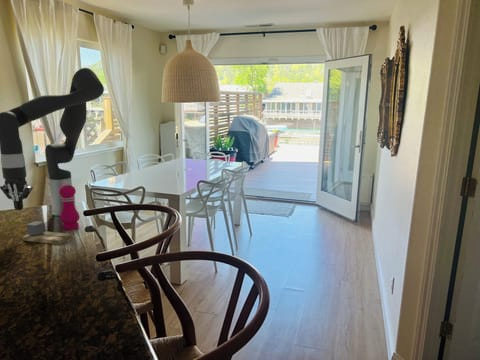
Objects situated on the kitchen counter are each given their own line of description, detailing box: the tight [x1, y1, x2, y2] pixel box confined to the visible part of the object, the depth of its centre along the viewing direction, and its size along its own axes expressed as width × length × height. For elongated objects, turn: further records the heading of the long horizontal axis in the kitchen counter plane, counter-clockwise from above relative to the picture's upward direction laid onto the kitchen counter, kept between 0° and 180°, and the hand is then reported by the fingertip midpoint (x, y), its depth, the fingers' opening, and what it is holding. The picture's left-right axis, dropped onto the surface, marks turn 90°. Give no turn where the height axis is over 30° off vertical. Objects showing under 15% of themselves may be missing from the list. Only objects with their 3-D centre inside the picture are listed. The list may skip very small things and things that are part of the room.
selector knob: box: [26, 220, 46, 235], centre depth 135 cm, size 4×4×4 cm
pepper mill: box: [59, 182, 80, 231], centre depth 146 cm, size 7×7×20 cm
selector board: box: [22, 230, 73, 245], centre depth 135 cm, size 16×7×2 cm, turn 78°
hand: (19, 209), depth 135 cm, fingers closed
